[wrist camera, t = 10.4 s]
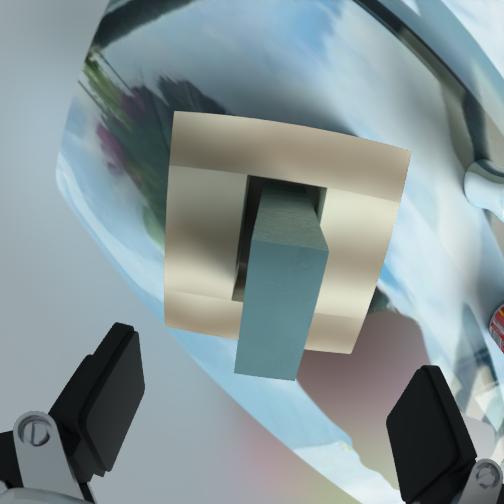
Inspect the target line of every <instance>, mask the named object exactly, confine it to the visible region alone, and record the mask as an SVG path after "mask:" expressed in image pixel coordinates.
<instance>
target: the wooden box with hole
mask: <svg viewBox="0 0 504 504" xmlns="http://www.w3.org/2000/svg"><path fill="white" fill-rule="evenodd" d="M410 156H411V151H410V150H406V149H403V148H399V147H395V146H392V145H388V144H384V143H380V142H376V141H372V140H368V139H364V138H359V137H355V136H351V135H346V134H342V133H337V132H332V131H327V130H322V129H317V128H312V127H306V126H300V125H294V124H288V123H282V122H276V121H269V120H262V119H254V118H246V117H238V116H229V115H219V114H208V113H196V112H181V111H174V119H173V129H172V139H171V150H170V162H169V175H168V190H167V208H166V230H165V271H164V309H165V327H170V328H175V329H180V330H185V331H190V332H196V333H201V334H206V335H212V336H218V337H224V338H230V339H236V340H238V339H239V331H240V323H241V316H242V308H243V301H244V293H245V286H246V278H247V270H248V263H249V255H250V248H251V240H252V236H253V231H254V227H255V222H256V218H257V213H258V209H259V204H260V200H261V195H262V191H263V186H264V182H265V181H266V182H273V183H280V184H286V185H293V186H299V187H305V188H306V191H307V193H308V196H309V198H310V201H311V203H312V206H313V209H314V211H315V214H316V216H317V219H318V222H319V224H320V227H321V230H322V232H323V235H324V238H325V240H326V243H327V246H328V249H329V255H328V259H327V264H326V268H325V272H324V276H323V280H322V284H321V288H320V292H319V296H318V300H317V304H316V307H315V311H314V315H313V319H312V322H311V326H310V329H309V333H308V337H307V340H306V344H305V347H304V349H309V350H317V351H327V352H337V353H348V354H351V352H352V350H353V347H354V345H355V342H356V340H357V337H358V334H359V332H360V329H361V327H362V324H363V321H364V319H365V316H366V313H367V310H368V308H369V305H370V302H371V299H372V296H373V293H374V290H375V287H376V284H377V281H378V278H379V275H380V272H381V269H382V266H383V262H384V259H385V256H386V252H387V249H388V246H389V242H390V239H391V235H392V232H393V228H394V224H395V221H396V217H397V213H398V209H399V205H400V201H401V197H402V193H403V189H404V184H405V180H406V175H407V171H408V166H409V161H410Z"/></svg>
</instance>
